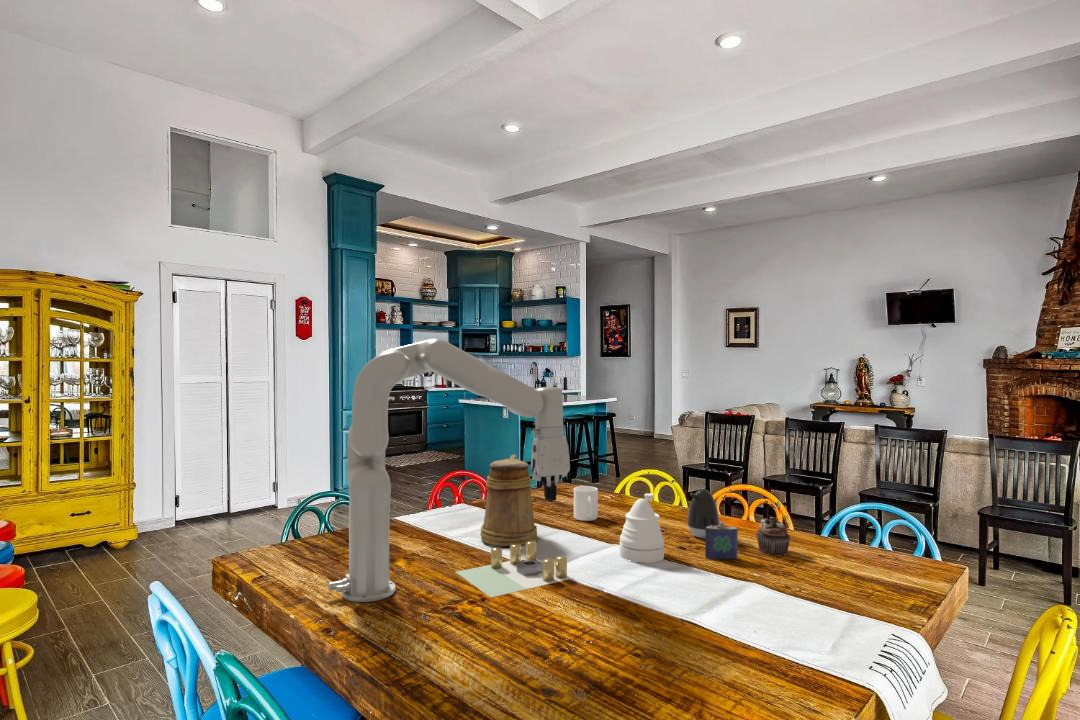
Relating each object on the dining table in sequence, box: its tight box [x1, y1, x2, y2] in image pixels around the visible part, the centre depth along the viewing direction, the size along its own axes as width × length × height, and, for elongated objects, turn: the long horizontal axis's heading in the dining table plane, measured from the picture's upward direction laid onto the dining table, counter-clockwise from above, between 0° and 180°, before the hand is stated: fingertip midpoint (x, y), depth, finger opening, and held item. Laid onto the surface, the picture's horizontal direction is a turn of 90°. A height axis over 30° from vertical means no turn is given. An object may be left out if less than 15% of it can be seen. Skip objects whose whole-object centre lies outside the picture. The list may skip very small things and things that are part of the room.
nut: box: [517, 558, 543, 576], centre depth 162 cm, size 6×7×2 cm
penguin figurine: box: [686, 488, 721, 539], centre depth 197 cm, size 10×10×15 cm
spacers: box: [490, 540, 568, 582], centre depth 162 cm, size 14×18×5 cm
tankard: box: [480, 454, 538, 547], centre depth 195 cm, size 18×24×25 cm
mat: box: [455, 557, 573, 598], centre depth 159 cm, size 24×20×1 cm
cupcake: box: [755, 517, 791, 556], centre depth 182 cm, size 10×10×10 cm
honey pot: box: [619, 493, 665, 563], centre depth 178 cm, size 13×13×18 cm
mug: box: [573, 485, 599, 522], centre depth 217 cm, size 9×12×11 cm
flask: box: [704, 521, 739, 561], centre depth 176 cm, size 9×3×11 cm, turn 87°
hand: (550, 499), depth 165 cm, fingers closed
